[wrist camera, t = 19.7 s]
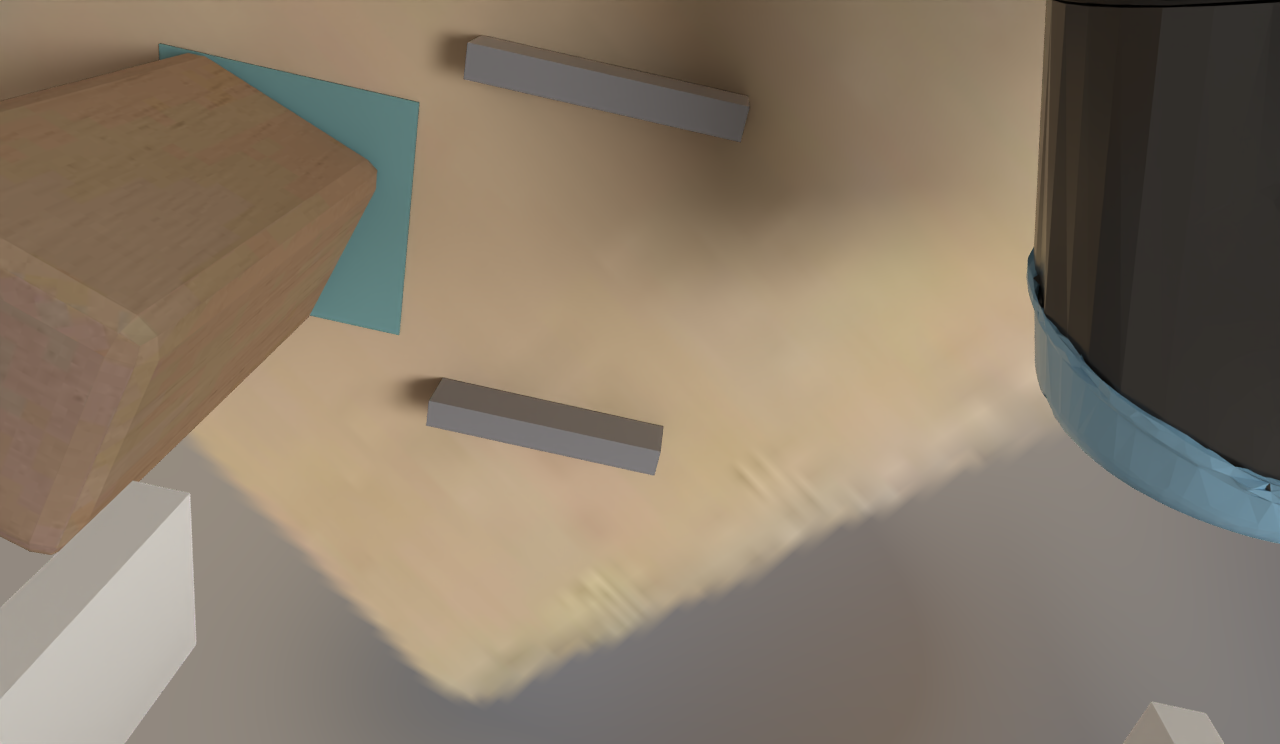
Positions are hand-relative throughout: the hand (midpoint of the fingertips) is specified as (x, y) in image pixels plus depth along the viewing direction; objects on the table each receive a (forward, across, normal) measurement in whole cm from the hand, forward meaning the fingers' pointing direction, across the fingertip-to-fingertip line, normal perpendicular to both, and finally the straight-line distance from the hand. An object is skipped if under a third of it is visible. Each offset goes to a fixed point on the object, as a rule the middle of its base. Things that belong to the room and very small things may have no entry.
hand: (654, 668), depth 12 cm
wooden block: (+32, -20, -7) cm, 38 cm away
